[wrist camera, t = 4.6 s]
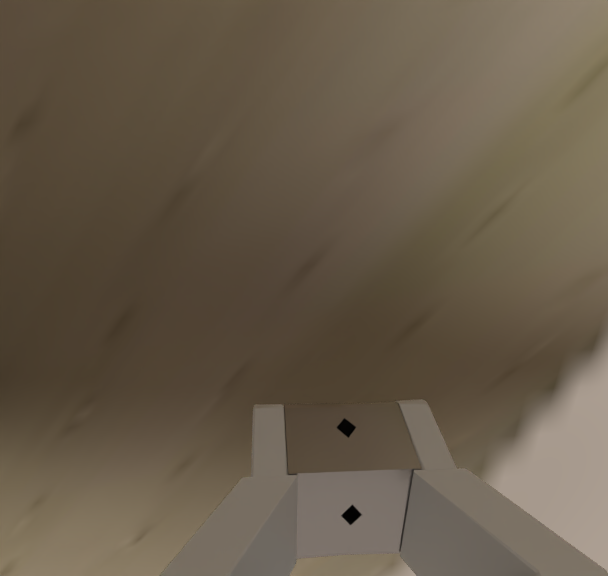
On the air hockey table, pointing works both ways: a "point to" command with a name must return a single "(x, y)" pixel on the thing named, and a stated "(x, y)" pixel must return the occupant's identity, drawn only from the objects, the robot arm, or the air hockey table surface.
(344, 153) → the air hockey table surface
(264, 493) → the robot arm
